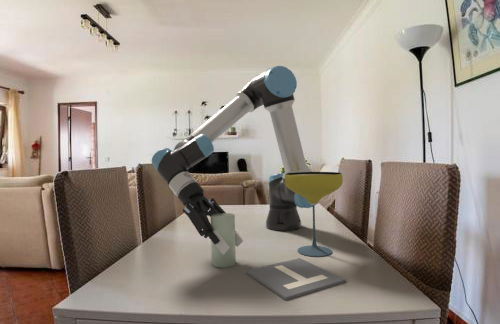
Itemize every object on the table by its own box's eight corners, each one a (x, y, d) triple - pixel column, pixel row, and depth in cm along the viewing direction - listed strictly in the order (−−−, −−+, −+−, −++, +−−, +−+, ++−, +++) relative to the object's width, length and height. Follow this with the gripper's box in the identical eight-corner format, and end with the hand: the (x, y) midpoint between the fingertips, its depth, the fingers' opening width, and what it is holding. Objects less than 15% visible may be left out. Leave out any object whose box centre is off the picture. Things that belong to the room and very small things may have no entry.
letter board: (299, 260, 90) (299, 258, 90) (345, 281, 74) (345, 279, 74) (245, 272, 81) (245, 270, 81) (285, 300, 65) (285, 297, 65)
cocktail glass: (344, 245, 103) (343, 171, 103) (342, 263, 86) (341, 175, 86) (292, 241, 109) (290, 171, 109) (280, 258, 92) (278, 175, 92)
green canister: (229, 257, 94) (228, 212, 93) (239, 264, 88) (238, 215, 87) (208, 261, 90) (206, 214, 90) (217, 269, 84) (215, 218, 84)
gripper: (171, 184, 84) (222, 249, 77) (212, 178, 102) (257, 231, 95) (157, 202, 87) (206, 267, 80) (199, 193, 104) (242, 246, 97)
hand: (233, 247), depth 87 cm, fingers closed on green canister, 7 cm apart
